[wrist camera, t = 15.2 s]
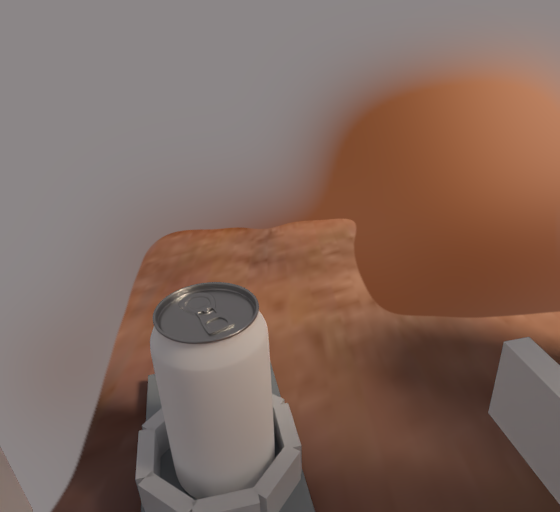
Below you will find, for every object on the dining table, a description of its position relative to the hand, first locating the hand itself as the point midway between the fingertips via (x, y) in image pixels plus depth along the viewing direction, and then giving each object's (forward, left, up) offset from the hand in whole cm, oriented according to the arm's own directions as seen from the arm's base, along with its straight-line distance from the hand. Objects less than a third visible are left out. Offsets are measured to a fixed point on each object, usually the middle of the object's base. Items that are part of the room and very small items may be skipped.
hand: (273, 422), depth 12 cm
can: (+1, -12, -16) cm, 21 cm away
